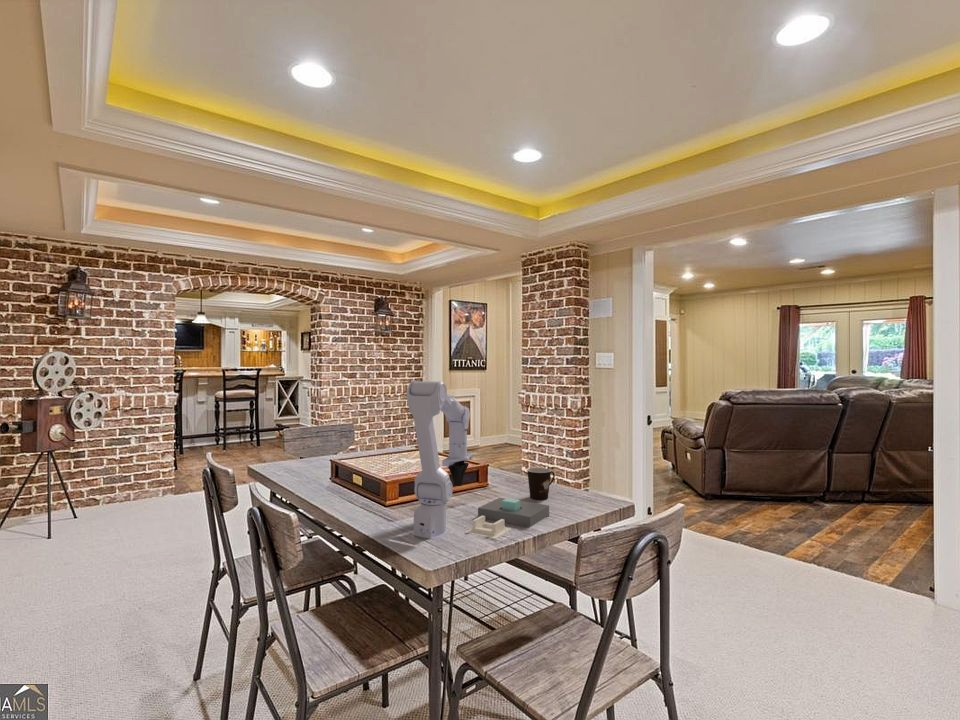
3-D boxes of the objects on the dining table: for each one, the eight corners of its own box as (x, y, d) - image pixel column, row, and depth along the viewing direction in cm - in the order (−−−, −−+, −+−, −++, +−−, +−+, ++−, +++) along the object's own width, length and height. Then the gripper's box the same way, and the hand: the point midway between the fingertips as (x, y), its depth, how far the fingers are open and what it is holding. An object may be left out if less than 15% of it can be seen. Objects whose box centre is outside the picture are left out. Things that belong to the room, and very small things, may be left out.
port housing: (530, 528, 153) (530, 516, 153) (477, 518, 162) (477, 507, 162) (549, 516, 165) (549, 505, 165) (499, 508, 174) (499, 497, 174)
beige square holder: (495, 540, 143) (495, 527, 143) (464, 533, 148) (464, 521, 148) (511, 530, 152) (512, 518, 152) (482, 524, 157) (482, 512, 157)
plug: (515, 522, 159) (515, 502, 159) (502, 520, 161) (502, 500, 161) (520, 519, 162) (520, 500, 162) (507, 517, 164) (507, 498, 164)
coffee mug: (531, 501, 182) (531, 473, 182) (523, 495, 191) (524, 468, 191) (562, 499, 185) (562, 471, 185) (553, 493, 193) (553, 466, 193)
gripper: (455, 447, 158) (455, 491, 158) (480, 441, 171) (480, 482, 171) (436, 445, 162) (436, 488, 162) (462, 439, 174) (462, 479, 174)
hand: (457, 485), depth 167 cm, fingers closed
